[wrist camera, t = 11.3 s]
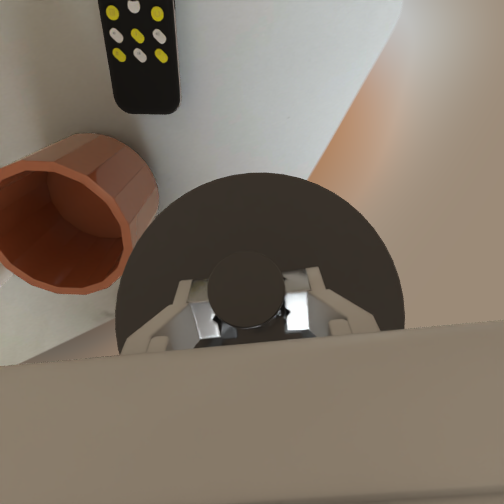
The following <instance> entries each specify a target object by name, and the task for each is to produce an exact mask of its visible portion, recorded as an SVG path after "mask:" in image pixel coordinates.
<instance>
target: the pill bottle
mask: <svg viewBox="0 0 504 504" xmlns="http://www.w3.org/2000/svg"><path fill="white" fill-rule="evenodd" d="M13 274H14V273H12V272H11V271H9V270H8V269H6V267H4V266H3V265H2V263H1V262H0V287H1V286H2V285H3V284H4V283H6V282H7V281H8V280H9V279H10V277H11V276H12V275H13Z"/></svg>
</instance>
